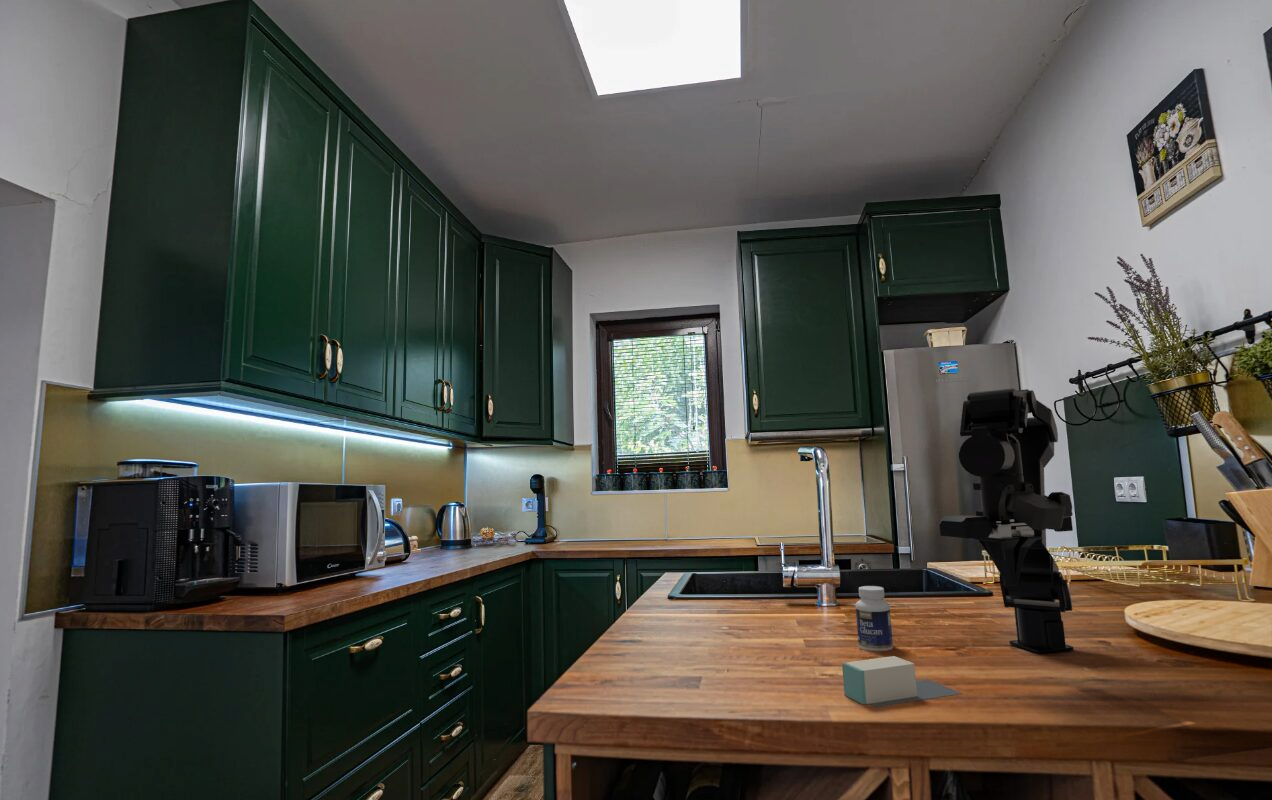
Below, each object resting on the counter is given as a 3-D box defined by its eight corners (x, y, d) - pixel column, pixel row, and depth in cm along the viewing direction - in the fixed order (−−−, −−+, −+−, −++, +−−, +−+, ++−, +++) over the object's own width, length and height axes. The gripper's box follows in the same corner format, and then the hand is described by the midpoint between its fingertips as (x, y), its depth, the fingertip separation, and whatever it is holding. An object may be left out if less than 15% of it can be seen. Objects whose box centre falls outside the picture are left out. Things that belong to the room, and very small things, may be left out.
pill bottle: (857, 651, 107) (852, 590, 109) (859, 643, 112) (855, 584, 114) (893, 653, 105) (887, 590, 107) (893, 645, 110) (888, 585, 112)
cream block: (894, 656, 89) (842, 663, 87) (914, 663, 85) (860, 671, 83) (896, 687, 88) (844, 695, 86) (917, 696, 85) (862, 704, 82)
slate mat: (927, 681, 91) (926, 679, 91) (962, 695, 85) (962, 693, 85) (844, 693, 88) (844, 691, 88) (875, 709, 81) (875, 706, 81)
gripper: (992, 477, 86) (1005, 600, 85) (1101, 472, 92) (1115, 587, 90) (932, 478, 97) (942, 587, 95) (1033, 473, 102) (1044, 577, 100)
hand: (1011, 585), depth 95 cm, fingers closed
